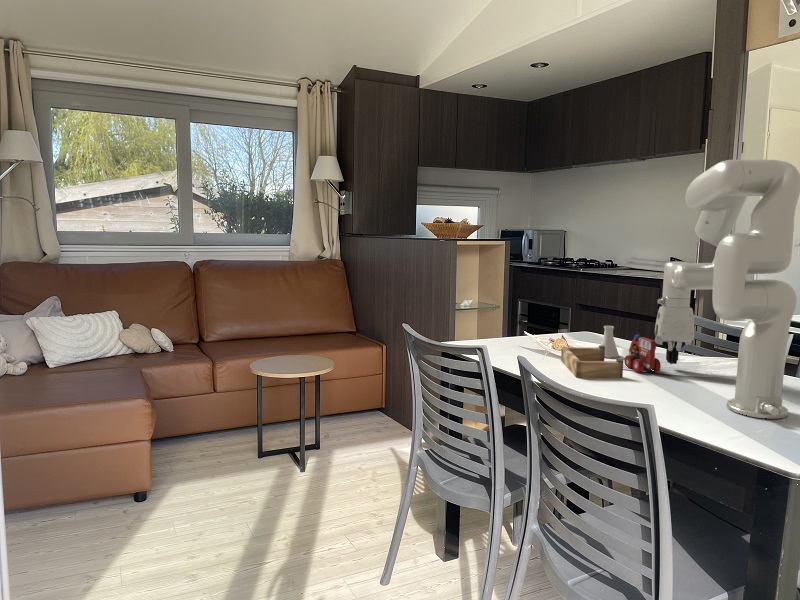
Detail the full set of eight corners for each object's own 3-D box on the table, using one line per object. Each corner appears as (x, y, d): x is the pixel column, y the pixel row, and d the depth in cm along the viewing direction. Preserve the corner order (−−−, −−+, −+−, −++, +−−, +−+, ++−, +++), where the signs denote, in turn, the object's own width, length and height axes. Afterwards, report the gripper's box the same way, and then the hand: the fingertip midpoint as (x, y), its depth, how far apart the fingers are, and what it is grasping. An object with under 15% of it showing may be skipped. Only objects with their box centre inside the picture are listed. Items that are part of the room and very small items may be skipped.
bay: (622, 377, 168) (623, 360, 168) (576, 377, 169) (576, 359, 168) (602, 361, 187) (603, 345, 186) (561, 360, 188) (561, 345, 187)
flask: (596, 357, 192) (597, 328, 190) (595, 352, 199) (597, 323, 197) (619, 359, 190) (621, 329, 188) (618, 354, 197) (619, 325, 195)
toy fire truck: (641, 364, 184) (643, 331, 182) (663, 374, 172) (665, 340, 170) (620, 364, 183) (622, 332, 181) (641, 375, 171) (643, 340, 169)
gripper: (655, 305, 170) (651, 365, 173) (707, 305, 170) (702, 366, 173) (645, 301, 178) (642, 359, 181) (695, 301, 177) (691, 360, 180)
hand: (671, 362), depth 177 cm, fingers closed
